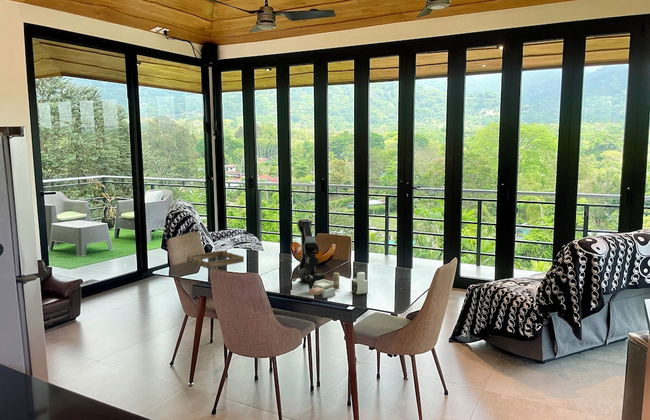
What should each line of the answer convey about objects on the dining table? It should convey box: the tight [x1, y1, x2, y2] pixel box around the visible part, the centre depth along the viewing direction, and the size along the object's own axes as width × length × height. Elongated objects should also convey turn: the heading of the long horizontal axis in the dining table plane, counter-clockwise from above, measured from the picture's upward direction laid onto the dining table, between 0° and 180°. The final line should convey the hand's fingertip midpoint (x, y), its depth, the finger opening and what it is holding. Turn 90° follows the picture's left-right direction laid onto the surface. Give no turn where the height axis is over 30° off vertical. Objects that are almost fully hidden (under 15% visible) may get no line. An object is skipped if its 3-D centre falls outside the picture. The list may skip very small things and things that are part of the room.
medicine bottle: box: [351, 270, 369, 295], centre depth 287 cm, size 7×7×12 cm
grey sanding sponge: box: [322, 287, 336, 299], centre depth 279 cm, size 2×8×4 cm, turn 134°
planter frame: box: [186, 250, 245, 269], centre depth 364 cm, size 29×29×4 cm
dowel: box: [333, 272, 340, 290], centre depth 296 cm, size 3×3×9 cm
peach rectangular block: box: [308, 287, 326, 296], centre depth 286 cm, size 6×7×2 cm
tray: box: [312, 279, 334, 290], centre depth 301 cm, size 12×12×2 cm
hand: (310, 289), depth 290 cm, fingers closed
